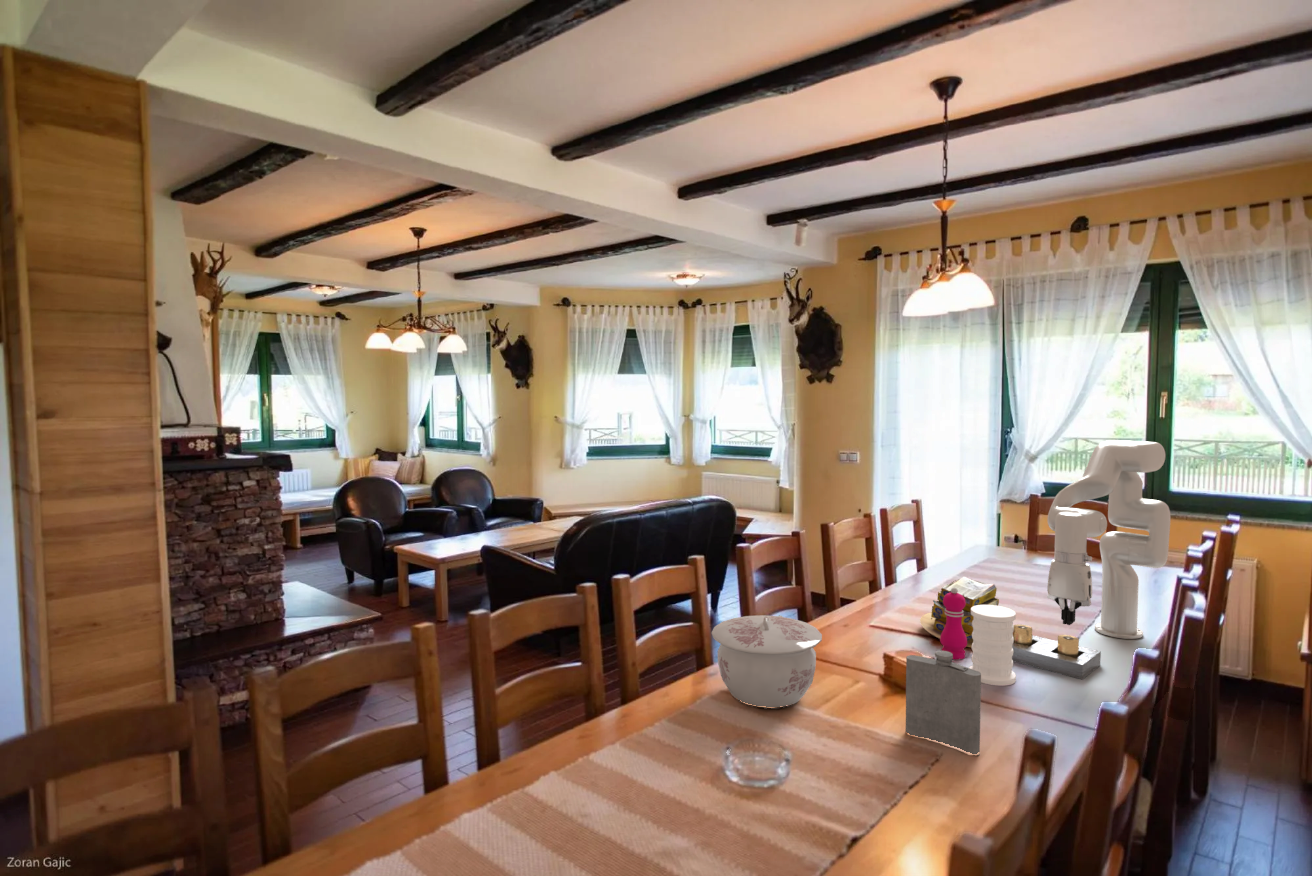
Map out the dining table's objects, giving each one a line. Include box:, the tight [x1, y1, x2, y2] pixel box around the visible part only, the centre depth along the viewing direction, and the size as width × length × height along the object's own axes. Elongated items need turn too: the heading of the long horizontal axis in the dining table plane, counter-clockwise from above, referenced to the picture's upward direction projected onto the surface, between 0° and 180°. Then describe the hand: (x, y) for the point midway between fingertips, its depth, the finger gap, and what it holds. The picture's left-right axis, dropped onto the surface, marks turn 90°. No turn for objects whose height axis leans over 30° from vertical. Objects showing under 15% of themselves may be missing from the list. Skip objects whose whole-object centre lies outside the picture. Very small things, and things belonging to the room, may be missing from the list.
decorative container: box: [968, 605, 1017, 687], centre depth 192 cm, size 12×12×18 cm
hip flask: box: [905, 650, 982, 754], centre depth 157 cm, size 16×4×20 cm, turn 47°
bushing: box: [1057, 634, 1080, 658], centre depth 198 cm, size 5×5×8 cm
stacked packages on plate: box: [919, 576, 1000, 649], centre depth 224 cm, size 25×25×17 cm
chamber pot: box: [711, 614, 823, 707], centre depth 181 cm, size 28×28×21 cm
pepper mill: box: [939, 588, 967, 661], centre depth 207 cm, size 7×7×20 cm
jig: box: [1012, 623, 1102, 681], centre depth 203 cm, size 14×24×8 cm, turn 41°
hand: (1068, 623), depth 198 cm, fingers closed
